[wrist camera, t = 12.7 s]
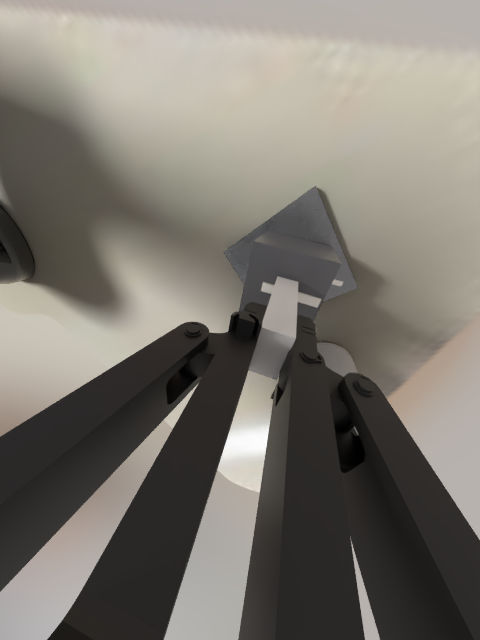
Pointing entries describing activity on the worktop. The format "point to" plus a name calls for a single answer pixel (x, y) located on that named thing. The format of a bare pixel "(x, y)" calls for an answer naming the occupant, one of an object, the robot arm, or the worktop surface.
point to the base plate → (300, 222)
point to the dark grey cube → (290, 270)
